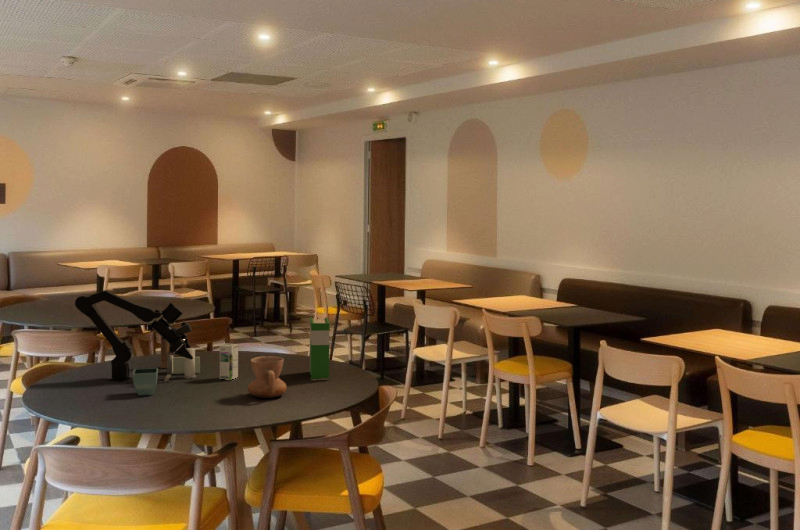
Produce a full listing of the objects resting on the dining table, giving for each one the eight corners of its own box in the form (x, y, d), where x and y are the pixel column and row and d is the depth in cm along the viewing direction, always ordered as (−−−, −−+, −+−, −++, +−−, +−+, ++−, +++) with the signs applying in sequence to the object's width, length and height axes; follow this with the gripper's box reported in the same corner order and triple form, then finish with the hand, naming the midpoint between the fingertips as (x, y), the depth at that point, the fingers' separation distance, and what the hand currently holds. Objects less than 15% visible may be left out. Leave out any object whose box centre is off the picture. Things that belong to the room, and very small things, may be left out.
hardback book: (309, 371, 326) (310, 317, 325) (326, 371, 328) (327, 317, 326) (311, 381, 309) (311, 323, 307) (329, 380, 310) (329, 323, 308)
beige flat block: (172, 373, 317) (172, 357, 317) (173, 372, 320) (173, 356, 319) (199, 372, 319) (199, 357, 319) (200, 371, 322) (200, 356, 321)
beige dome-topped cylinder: (193, 379, 309) (193, 350, 308) (181, 378, 310) (181, 349, 309) (197, 376, 314) (197, 348, 313) (186, 375, 315) (186, 347, 314)
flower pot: (132, 397, 278) (132, 373, 277) (134, 391, 286) (134, 368, 286) (157, 396, 280) (157, 372, 279) (158, 390, 289) (158, 367, 288)
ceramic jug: (245, 391, 289) (245, 355, 288) (283, 389, 293) (283, 353, 292) (250, 403, 272) (250, 364, 271) (290, 401, 276) (290, 363, 275)
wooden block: (186, 367, 331) (185, 327, 330) (160, 369, 327) (160, 328, 326) (185, 365, 335) (185, 326, 333) (160, 367, 331) (159, 327, 330)
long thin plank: (168, 371, 323) (168, 353, 322) (173, 371, 323) (173, 353, 322) (163, 381, 305) (163, 361, 304) (168, 380, 305) (168, 361, 305)
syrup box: (219, 379, 309) (219, 345, 308) (226, 376, 314) (226, 342, 313) (231, 380, 307) (231, 346, 306) (238, 378, 313) (238, 343, 311)
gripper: (177, 320, 300) (205, 346, 303) (182, 313, 319) (208, 339, 321) (157, 339, 299) (185, 366, 302) (162, 332, 318) (189, 357, 321)
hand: (193, 356), depth 312 cm, fingers open, 9 cm apart
